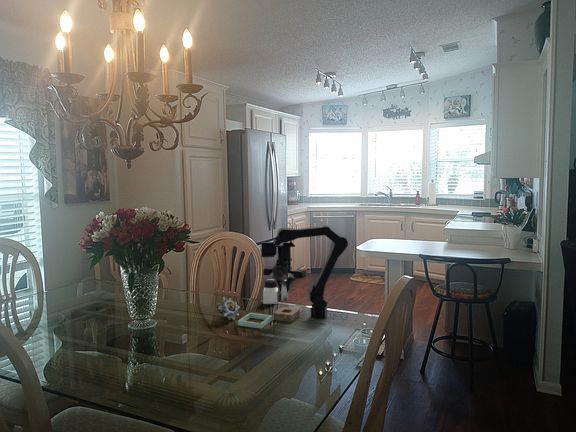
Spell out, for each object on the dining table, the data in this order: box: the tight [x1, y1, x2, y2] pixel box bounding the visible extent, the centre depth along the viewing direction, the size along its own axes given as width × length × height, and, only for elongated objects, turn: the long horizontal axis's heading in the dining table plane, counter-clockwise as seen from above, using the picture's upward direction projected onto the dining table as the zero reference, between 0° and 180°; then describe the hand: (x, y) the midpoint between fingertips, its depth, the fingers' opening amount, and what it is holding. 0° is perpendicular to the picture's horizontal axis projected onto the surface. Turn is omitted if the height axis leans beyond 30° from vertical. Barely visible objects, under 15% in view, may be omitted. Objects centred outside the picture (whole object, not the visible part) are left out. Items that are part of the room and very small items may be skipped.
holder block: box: [272, 306, 301, 323], centre depth 199 cm, size 9×9×4 cm
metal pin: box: [280, 279, 289, 302], centre depth 197 cm, size 3×3×9 cm
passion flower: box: [215, 296, 241, 321], centre depth 202 cm, size 11×11×12 cm
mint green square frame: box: [237, 312, 273, 330], centre depth 193 cm, size 11×11×3 cm
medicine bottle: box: [262, 278, 279, 305], centre depth 222 cm, size 7×7×12 cm
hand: (284, 291), depth 197 cm, fingers closed on metal pin, 3 cm apart
